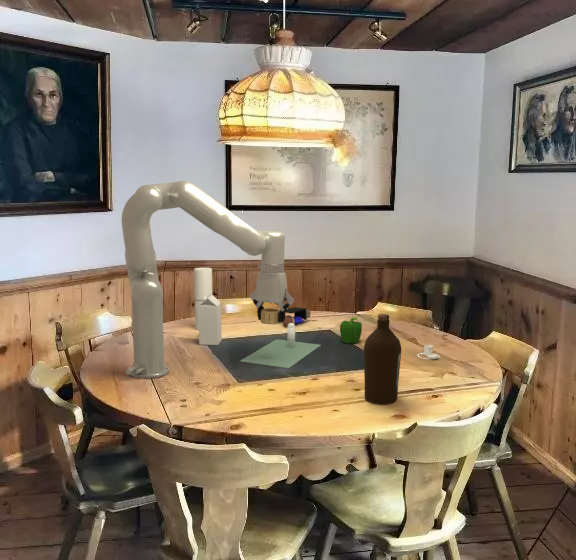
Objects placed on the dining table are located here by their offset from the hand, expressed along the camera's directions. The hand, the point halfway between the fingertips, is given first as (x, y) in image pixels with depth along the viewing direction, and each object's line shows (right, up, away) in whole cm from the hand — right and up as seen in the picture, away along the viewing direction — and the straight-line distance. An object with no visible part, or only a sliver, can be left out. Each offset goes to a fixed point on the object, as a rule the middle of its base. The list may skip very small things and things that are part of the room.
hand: (271, 320), depth 216 cm
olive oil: (+33, -21, -30) cm, 49 cm away
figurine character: (+9, -6, +56) cm, 57 cm away
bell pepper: (+29, -10, +29) cm, 43 cm away
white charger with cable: (+53, -15, +10) cm, 56 cm away
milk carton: (-24, -10, +27) cm, 38 cm away
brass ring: (0, -1, 0) cm, 1 cm away
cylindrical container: (-29, -7, +48) cm, 56 cm away
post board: (+4, -14, +10) cm, 17 cm away
